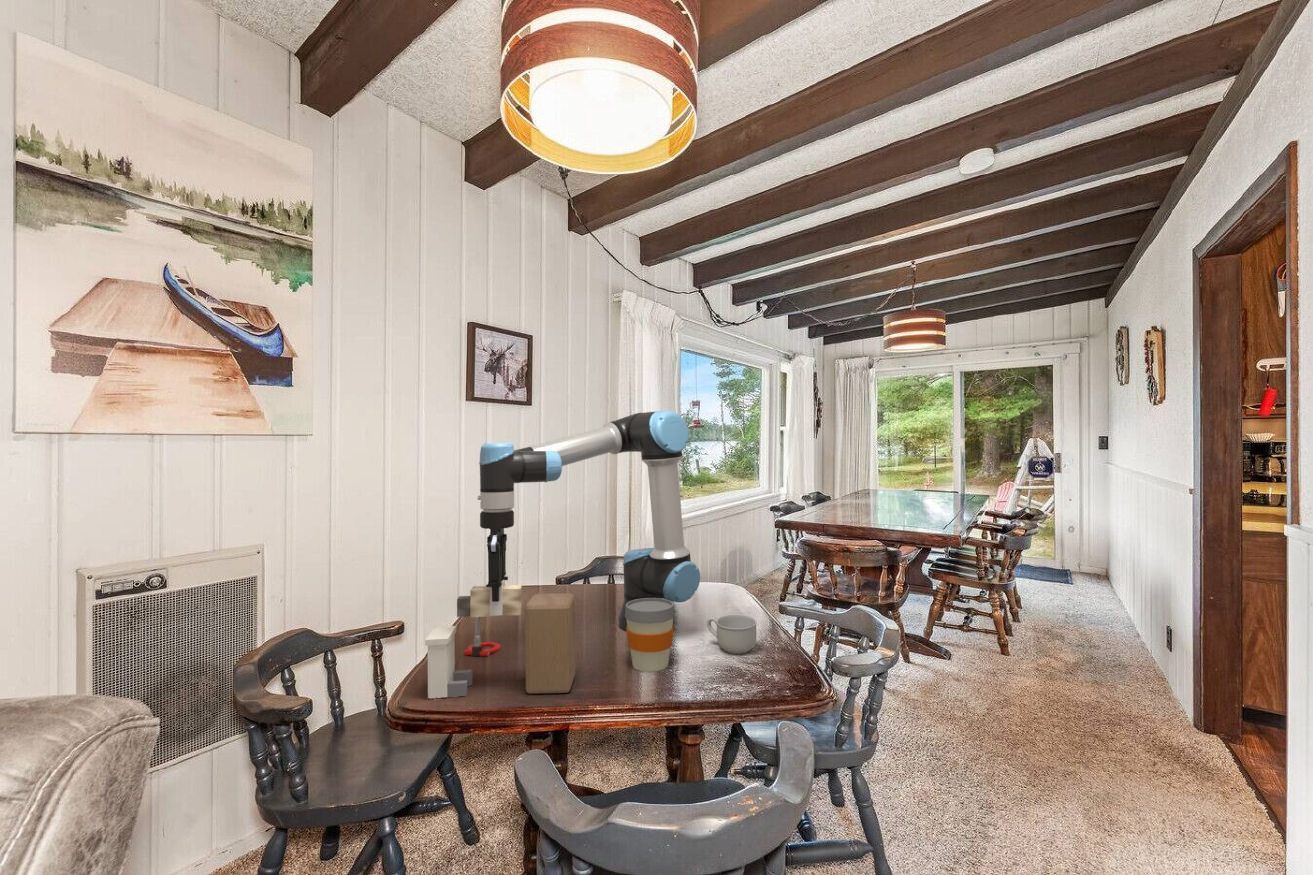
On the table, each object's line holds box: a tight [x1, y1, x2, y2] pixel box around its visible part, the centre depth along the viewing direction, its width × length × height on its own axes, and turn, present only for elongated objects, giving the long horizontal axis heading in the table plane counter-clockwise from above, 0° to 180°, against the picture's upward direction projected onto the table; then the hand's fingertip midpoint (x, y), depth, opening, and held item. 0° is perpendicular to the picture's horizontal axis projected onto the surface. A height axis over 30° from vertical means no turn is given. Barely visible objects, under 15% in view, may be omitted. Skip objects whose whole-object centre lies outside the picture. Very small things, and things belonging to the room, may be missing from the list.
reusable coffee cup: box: [625, 598, 676, 673], centre depth 141 cm, size 13×13×15 cm
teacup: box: [706, 613, 758, 655], centre depth 151 cm, size 14×11×8 cm
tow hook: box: [463, 617, 501, 658], centre depth 152 cm, size 8×13×9 cm
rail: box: [456, 584, 523, 618], centre depth 128 cm, size 14×4×6 cm, turn 98°
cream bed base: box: [424, 625, 473, 699], centre depth 127 cm, size 8×9×13 cm
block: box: [524, 592, 576, 695], centre depth 129 cm, size 10×10×20 cm
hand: (497, 612), depth 128 cm, fingers closed on rail, 4 cm apart
